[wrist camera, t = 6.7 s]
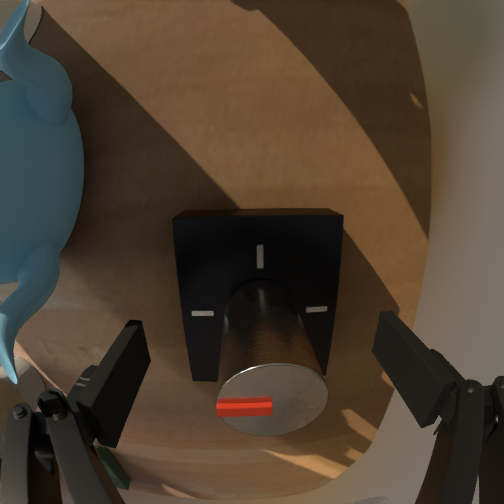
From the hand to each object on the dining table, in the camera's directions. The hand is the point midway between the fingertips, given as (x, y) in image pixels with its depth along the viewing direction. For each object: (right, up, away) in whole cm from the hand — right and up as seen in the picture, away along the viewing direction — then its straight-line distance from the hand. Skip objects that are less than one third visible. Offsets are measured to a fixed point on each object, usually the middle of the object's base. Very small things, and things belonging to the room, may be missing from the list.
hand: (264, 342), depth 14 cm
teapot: (-19, +10, +3) cm, 22 cm away
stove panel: (0, +2, +6) cm, 6 cm away
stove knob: (0, +1, +3) cm, 3 cm away
